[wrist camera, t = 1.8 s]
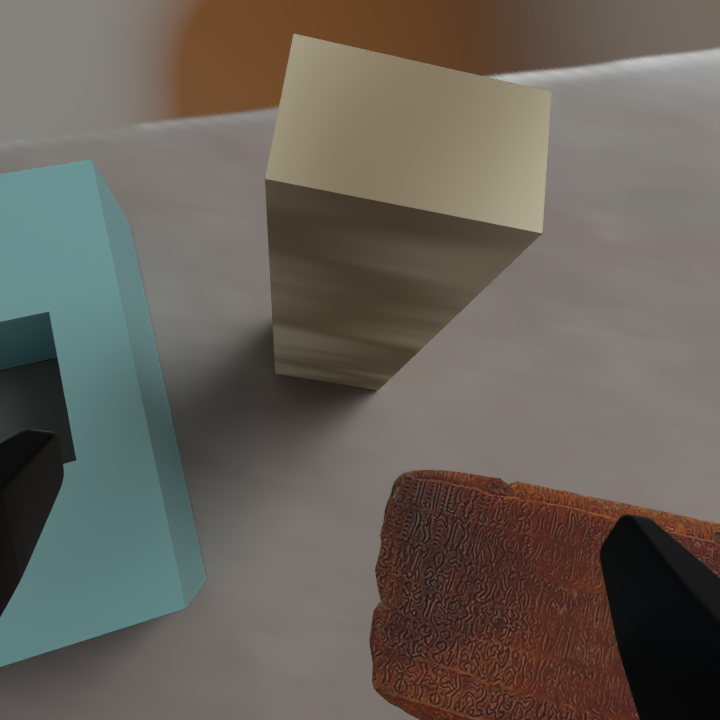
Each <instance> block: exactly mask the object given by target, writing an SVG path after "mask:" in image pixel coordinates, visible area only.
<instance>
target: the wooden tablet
mask: <svg viewBox="0 0 720 720" xmlns="http://www.w3.org/2000/svg"><path fill="white" fill-rule="evenodd" d="M624 514H631V515H638V516H645V517H648V518H650V519H652V520H653V521H654V522H655V523H656V524H658V525H659V526H660V527H661V528H662V529H663V530H665V531H666V532H667V533H668V534H669V535H671V536H672V537H673V538H674V539H675V540H676V541H678V542H679V543H680V544H681V545H682V546H683V547H685V548H686V549H687V550H688V551H689V552H690V553H692V554H693V555H694V556H695V557H696V558H697V559H699V560H700V561H701V562H702V563H703V564H705V565H706V566H707V567H708V568H709V569H710V570H712V571H713V572H714V573H715V574H716V575H717V576H719V577H720V524H716V523H712V522H706V521H700V520H696V519H692V518H689V517H684V516H679V515H675V514H671V513H667V512H662V511H657V510H652V509H647V508H641V507H637V506H632V505H627V504H623V503H618V502H613V501H608V500H603V499H598V498H593V497H588V496H583V495H579V494H575V493H571V492H565V491H559V490H553V489H549V488H546V487H540V486H536V485H531V484H527V483H521V482H515V483H511V484H507V483H505V482H504V481H502V480H501V479H500V478H492V477H484V476H480V475H473V474H467V473H460V472H452V471H441V470H436V471H433V470H421V471H412V472H408V473H404V474H403V475H401V476H400V477H399V478H398V480H397V482H396V483H395V485H394V489H393V494H392V496H391V498H390V500H389V501H388V504H387V507H386V511H385V520H384V524H383V527H382V531H381V535H380V537H381V541H382V542H381V550H380V554H379V557H378V561H377V564H376V569H375V572H376V578H377V586H378V590H379V595H380V598H381V601H380V602H379V604H378V605H377V607H376V608H375V610H374V613H373V618H372V627H371V635H370V648H371V655H372V661H373V674H372V683H373V687H374V689H375V690H376V691H377V692H378V693H379V694H380V695H381V696H382V697H383V698H384V699H386V700H387V701H388V702H389V703H390V704H393V705H395V706H397V707H399V708H401V709H402V710H404V711H405V712H407V713H408V714H410V715H412V716H414V717H416V718H418V719H420V720H639V717H638V714H637V710H636V707H635V704H634V701H633V697H632V694H631V691H630V687H629V684H628V681H627V678H626V674H625V671H624V668H623V664H622V661H621V657H620V654H619V650H618V646H617V642H616V637H615V633H614V628H613V623H612V618H611V613H610V608H609V603H608V598H607V593H606V588H605V583H604V578H603V573H602V568H601V563H600V549H601V546H602V544H603V542H604V541H605V539H606V537H607V536H608V534H609V533H610V531H611V530H612V528H613V526H614V525H615V523H616V522H617V520H618V519H619V518H620V517H621V516H623V515H624Z"/></svg>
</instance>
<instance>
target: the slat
mask: <svg viewBox="0 0 720 720" xmlns="http://www.w3.org/2000/svg"><path fill="white" fill-rule="evenodd" d="M550 106H551V92H550V91H546V90H541V89H537V88H532V87H528V86H524V85H519V84H515V83H510V82H506V81H501V80H497V79H493V78H488V77H484V76H479V75H475V74H470V73H466V72H461V71H457V70H453V69H448V68H443V67H439V66H435V65H430V64H426V63H422V62H417V61H413V60H408V59H403V58H399V57H395V56H390V55H386V54H382V53H377V52H373V51H368V50H364V49H359V48H355V47H350V46H346V45H342V44H337V43H332V42H328V41H324V40H320V39H315V38H311V37H306V36H302V35H297V34H294V36H293V40H292V45H291V50H290V55H289V60H288V66H287V71H286V76H285V81H284V86H283V91H282V96H281V101H280V106H279V111H278V116H277V121H276V126H275V131H274V136H273V141H272V146H271V151H270V156H269V161H268V167H267V172H266V177H265V186H266V206H267V225H268V244H269V264H270V283H271V302H272V322H273V341H274V360H275V374H279V375H285V376H292V377H298V378H304V379H310V380H317V381H323V382H329V383H335V384H341V385H348V386H354V387H360V388H366V389H372V390H379V389H380V388H381V387H382V386H383V385H384V384H385V383H386V382H387V381H388V380H389V379H390V378H391V377H393V376H394V375H395V374H396V373H397V372H398V371H399V370H400V369H401V368H402V367H403V366H404V365H405V364H406V363H407V362H408V361H409V360H410V359H411V358H412V357H413V356H415V355H416V354H417V353H418V352H419V351H420V350H421V349H422V348H423V347H424V346H425V345H426V344H427V343H428V342H429V341H430V340H431V339H432V338H433V337H434V336H435V335H436V334H438V333H439V332H440V331H441V330H442V329H443V328H444V327H445V326H446V325H447V324H448V323H449V322H450V321H451V320H452V319H453V318H454V317H455V316H456V315H457V314H458V313H459V312H461V311H462V310H463V309H464V308H465V307H466V306H467V305H468V304H469V303H470V302H471V301H472V300H473V299H474V298H475V297H476V296H477V295H478V294H479V293H480V292H481V291H482V290H484V289H485V288H486V287H487V286H488V285H489V284H490V283H491V282H492V281H493V280H494V279H495V278H496V277H497V276H498V275H499V274H500V273H501V272H502V271H503V270H504V269H505V268H507V267H508V266H509V265H510V264H511V263H512V262H513V261H514V260H515V259H516V258H517V257H518V256H519V255H520V254H521V253H522V252H523V251H524V250H525V249H526V248H527V247H528V246H530V245H531V244H532V243H533V242H534V241H535V240H536V239H537V238H538V237H539V236H540V235H541V234H542V229H543V214H544V198H545V183H546V168H547V152H548V137H549V121H550Z"/></svg>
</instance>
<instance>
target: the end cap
mask: <svg viewBox="0 0 720 720" xmlns="http://www.w3.org/2000/svg"><path fill="white" fill-rule="evenodd" d="M53 358H58V363H59V368H60V374H61V379H62V385H63V390H64V396H65V401H66V406H67V412H68V417H69V423H70V428H71V434H72V439H73V444H74V450H75V455H76V461H72V462H69V463H65V464H63V467H64V478H63V483H62V486H61V489H60V491H59V494H58V496H57V498H56V501H55V503H54V505H53V508H52V510H51V512H50V515H49V517H48V519H47V522H46V524H45V526H44V528H43V531H42V533H41V535H40V538H39V540H38V542H37V545H36V547H35V549H34V552H33V554H32V556H31V559H30V561H29V563H28V566H27V568H26V570H25V572H24V574H23V577H22V579H21V581H20V583H19V585H18V586H17V588H16V590H15V592H14V594H13V596H12V598H11V599H10V601H9V603H8V605H7V606H6V608H5V610H4V612H3V613H2V615H1V617H0V667H2V666H5V665H8V664H12V663H15V662H18V661H21V660H24V659H27V658H30V657H34V656H37V655H40V654H43V653H46V652H49V651H53V650H56V649H59V648H62V647H65V646H68V645H72V644H75V643H78V642H81V641H84V640H87V639H91V638H94V637H97V636H100V635H103V634H106V633H109V632H113V631H116V630H119V629H122V628H125V627H128V626H132V625H135V624H138V623H141V622H144V621H147V620H151V619H154V618H157V617H160V616H163V615H166V614H170V613H173V612H176V611H179V610H182V609H185V608H186V607H187V606H188V605H189V603H190V602H191V601H192V600H193V598H194V597H195V596H196V594H197V593H198V592H199V590H200V589H201V588H202V586H203V585H204V584H205V583H206V581H207V577H206V572H205V568H204V563H203V558H202V554H201V549H200V545H199V540H198V535H197V531H196V526H195V522H194V517H193V512H192V508H191V503H190V499H189V494H188V490H187V485H186V480H185V476H184V471H183V467H182V462H181V457H180V453H179V448H178V444H177V439H176V434H175V430H174V425H173V421H172V416H171V411H170V407H169V402H168V398H167V393H166V388H165V384H164V379H163V375H162V370H161V365H160V361H159V356H158V352H157V347H156V342H155V338H154V333H153V329H152V324H151V320H150V315H149V310H148V306H147V301H146V297H145V292H144V287H143V283H142V278H141V274H140V269H139V264H138V260H137V255H136V251H135V246H134V241H133V237H132V232H131V228H130V224H129V222H128V221H127V219H126V217H125V215H124V214H123V212H122V210H121V209H120V207H119V205H118V203H117V202H116V200H115V198H114V197H113V195H112V193H111V191H110V190H109V188H108V186H107V185H106V183H105V181H104V179H103V178H102V176H101V174H100V173H99V171H98V169H97V167H96V166H95V164H94V162H93V160H92V159H90V160H84V161H78V162H72V163H65V164H59V165H53V166H47V167H40V168H34V169H28V170H22V171H16V172H9V173H3V174H0V370H3V369H8V368H12V367H17V366H21V365H26V364H30V363H35V362H39V361H44V360H48V359H53Z"/></svg>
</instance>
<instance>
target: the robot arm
mask: <svg viewBox="0 0 720 720" xmlns="http://www.w3.org/2000/svg"><path fill="white" fill-rule="evenodd" d="M63 478H64V467H63V459H62V450H61V442H60V438H59V436H58V434H57V433H55V432H52V431H45V430H38V429H27V430H24V431H22V432H20V433H18V434H16V435H14V436H12V437H11V438H9V439H7V440H5V441H3V442H1V443H0V617H1V615H2V613H3V612H4V610H5V608H6V606H7V605H8V603H9V601H10V599H11V598H12V596H13V594H14V592H15V590H16V588H17V586H18V585H19V583H20V581H21V579H22V577H23V574H24V572H25V570H26V568H27V566H28V563H29V561H30V559H31V556H32V554H33V552H34V549H35V547H36V545H37V542H38V540H39V538H40V535H41V533H42V531H43V528H44V526H45V524H46V522H47V519H48V517H49V515H50V512H51V510H52V508H53V505H54V503H55V501H56V498H57V496H58V494H59V491H60V489H61V486H62V483H63ZM600 563H601V568H602V573H603V578H604V583H605V588H606V593H607V598H608V603H609V608H610V613H611V618H612V623H613V628H614V633H615V637H616V642H617V646H618V650H619V654H620V657H621V661H622V664H623V668H624V671H625V674H626V678H627V681H628V684H629V687H630V691H631V694H632V697H633V701H634V704H635V707H636V710H637V714H638V717H639V720H720V577H719V576H717V575H716V574H715V573H714V572H713V571H712V570H710V569H709V568H708V567H707V566H706V565H705V564H703V563H702V562H701V561H700V560H699V559H697V558H696V557H695V556H694V555H693V554H692V553H690V552H689V551H688V550H687V549H686V548H685V547H683V546H682V545H681V544H680V543H679V542H678V541H676V540H675V539H674V538H673V537H672V536H671V535H669V534H668V533H667V532H666V531H665V530H663V529H662V528H661V527H660V526H659V525H658V524H656V523H655V522H654V521H653V520H652V519H650V518H648V517H645V516H638V515H631V514H624V515H623V516H621V517H620V518H619V519H618V520H617V522H616V523H615V525H614V526H613V528H612V530H611V531H610V533H609V534H608V536H607V537H606V539H605V541H604V542H603V544H602V546H601V549H600Z"/></svg>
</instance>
